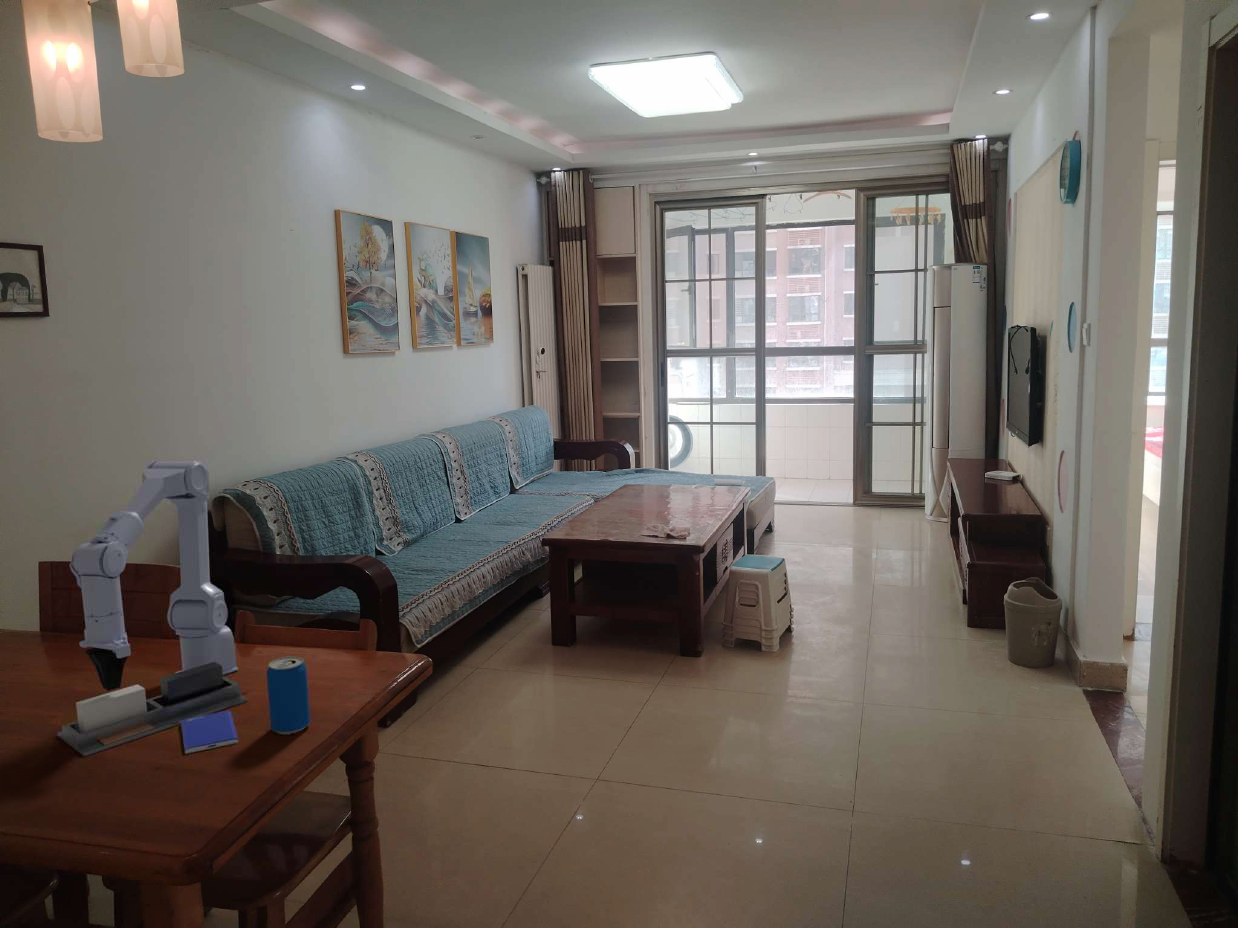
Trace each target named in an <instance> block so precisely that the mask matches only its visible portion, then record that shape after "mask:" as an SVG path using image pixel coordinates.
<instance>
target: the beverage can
mask: <svg viewBox="0 0 1238 928" xmlns="http://www.w3.org/2000/svg"><path fill="white" fill-rule="evenodd" d="M307 669H308V668H307V665H306V664H305V663H304V659H303V658H302V657H299V656H284V657H279V658H276V659H273V660H272V661H270V662H269V663H268V668H267V670H266V681H267V692H268V693H267V694H268V708H269V709H268V711H269V720H270V728H271V731H273V732H276V733H277V734H279V735H292V734H291V733H294V734H296V733H295V732H297V733H299V732H298V731H300V732H302V731H304V730H305V729H306V728H305V727H308V726H309V725H310V723H311V713H310V699H309V698H310V696H309V684H308V683H309V682H308V670H307ZM304 728H305V729H304ZM303 729H304V730H303ZM301 730H302V731H301Z"/></svg>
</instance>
